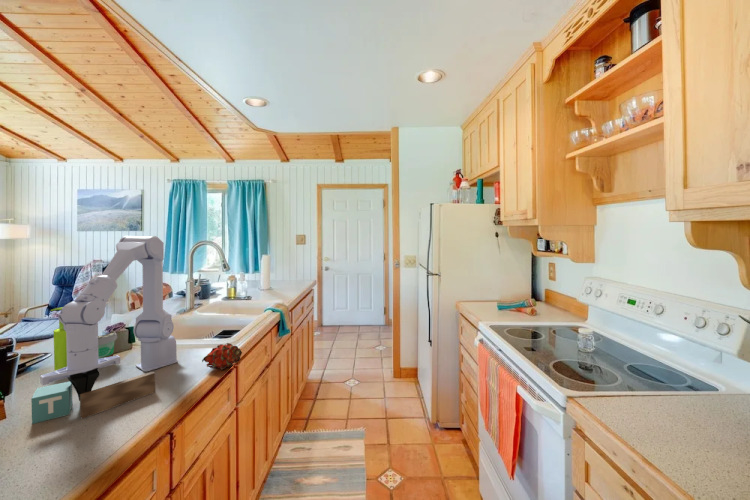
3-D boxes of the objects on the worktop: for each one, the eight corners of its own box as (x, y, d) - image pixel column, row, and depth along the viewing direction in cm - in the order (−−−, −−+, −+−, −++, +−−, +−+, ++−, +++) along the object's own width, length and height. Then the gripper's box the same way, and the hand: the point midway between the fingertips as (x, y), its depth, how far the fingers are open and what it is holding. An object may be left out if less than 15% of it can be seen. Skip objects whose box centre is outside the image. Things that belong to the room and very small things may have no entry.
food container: (86, 374, 93) (86, 343, 92) (71, 372, 94) (70, 341, 93) (127, 359, 105) (126, 331, 104) (113, 357, 106) (112, 329, 106)
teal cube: (72, 403, 77) (72, 380, 77) (69, 414, 72) (68, 390, 72) (37, 412, 73) (37, 388, 73) (31, 424, 68) (31, 398, 68)
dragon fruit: (245, 369, 102) (205, 380, 97) (242, 348, 108) (204, 358, 103) (242, 355, 97) (200, 367, 92) (239, 334, 103) (199, 344, 98)
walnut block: (152, 390, 84) (152, 371, 84) (155, 392, 83) (155, 372, 83) (80, 416, 72) (79, 394, 71) (82, 418, 71) (81, 396, 71)
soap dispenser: (63, 364, 99) (61, 305, 98) (85, 364, 100) (84, 305, 99) (45, 372, 93) (43, 309, 93) (69, 372, 94) (67, 309, 93)
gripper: (112, 337, 84) (113, 384, 84) (35, 354, 71) (37, 409, 72) (123, 342, 80) (124, 391, 81) (44, 360, 68) (46, 419, 68)
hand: (83, 400), depth 76 cm, fingers closed
